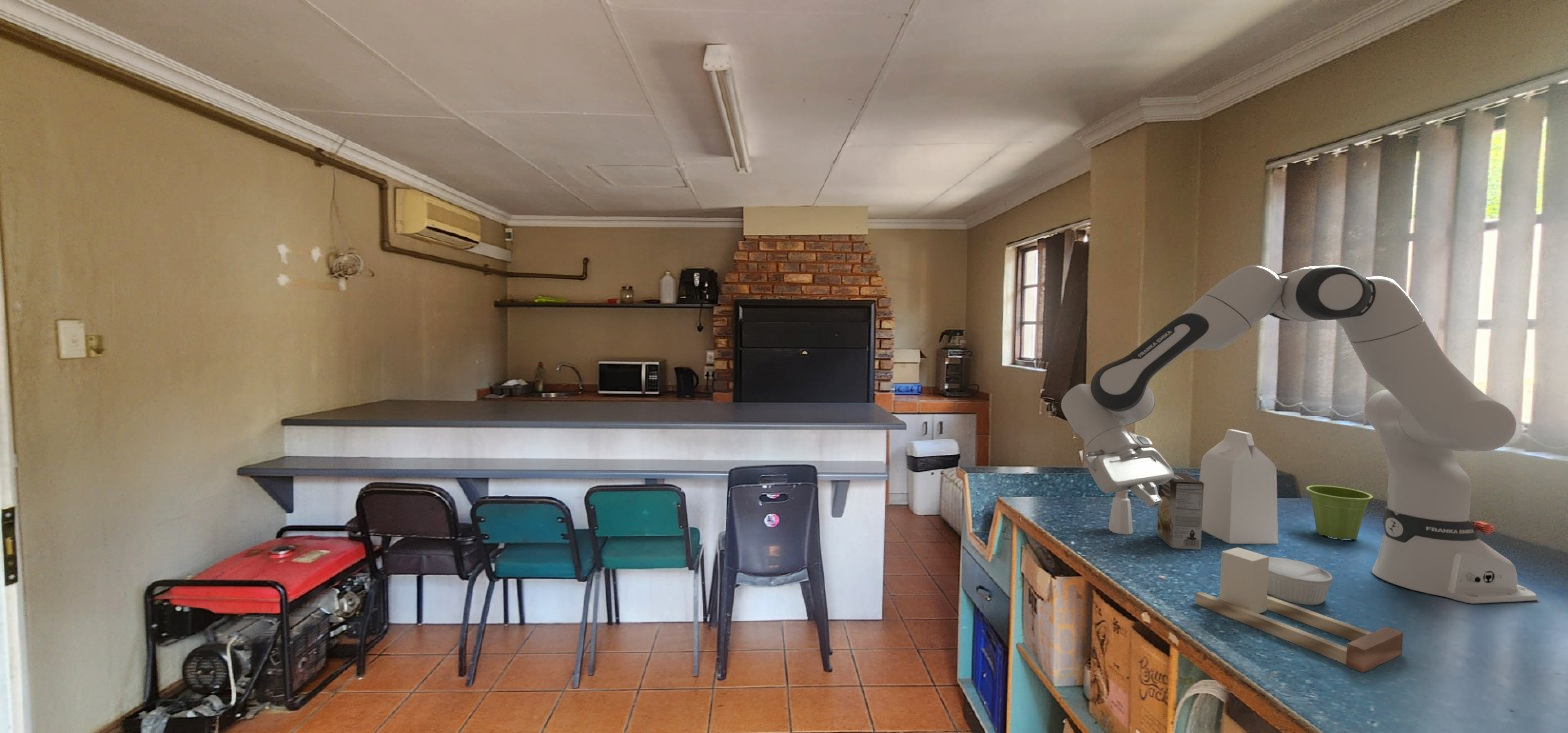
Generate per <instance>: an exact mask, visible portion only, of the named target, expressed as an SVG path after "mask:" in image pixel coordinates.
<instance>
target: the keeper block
mask: <svg viewBox="0 0 1568 733" xmlns="http://www.w3.org/2000/svg"><path fill="white" fill-rule="evenodd" d="M1269 557H1270V556H1268V555H1265V554H1261V553H1259V552H1255V551H1252V550H1248V549H1245V548H1241V547H1238V546H1237V547H1234V548H1230V549H1226V550H1222V551H1221V559H1220V560H1221V561H1220V562H1221V563H1220V564H1221V565H1220V582H1219V583H1220V586H1219V599H1221V600H1224V601H1227V602H1229V603H1232V604H1234V605H1237V606H1240V607H1242V608H1245V609H1247V610H1250V611H1253V612H1255V613H1258V614H1262V613H1264V612H1267V610H1268V609H1267V595H1268V593H1267V590H1268V569H1269Z"/></svg>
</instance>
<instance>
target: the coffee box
mask: <svg viewBox="0 0 1568 733" xmlns="http://www.w3.org/2000/svg"><path fill="white" fill-rule="evenodd" d="M1203 492H1204V483H1203V482H1201V481H1200V479H1198V478H1196V477H1194V476H1193V475H1191V474H1189V473H1187V472H1174V478H1172V479H1171V480H1170V481H1168V482H1167V483H1165V484H1162V485H1158V495H1159V496H1160V498H1161V499H1162V501H1163V502H1162V503H1161V504H1160V505H1157V521H1156V522H1157V523H1156V535H1157V536H1158V538H1160V539H1161V540H1162V541H1164V542H1165V543H1166V545H1168V546H1169V547H1171V548H1172V549H1181V550H1197V551H1198V550H1201V549H1202V548H1201V546H1202V531H1203V530H1202V512H1203Z"/></svg>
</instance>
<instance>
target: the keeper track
mask: <svg viewBox="0 0 1568 733" xmlns="http://www.w3.org/2000/svg"><path fill="white" fill-rule="evenodd" d="M1194 599H1195V600H1194V601H1195V602H1194V604H1195V605H1198V606H1200V607H1203V608H1206V609H1208V610H1210V611H1213V612H1215V613H1218V614H1219V615H1223V616H1225V617H1227V618H1230V619H1233V620H1235V621H1238V622H1240V623H1243V624H1244V625H1247V626H1250V627H1253V628H1255V629H1257V630H1260V631H1262V632H1264V633H1267V634H1269V635H1272V636H1275V637H1278V638H1280V639H1282V640H1285V641H1287V642H1290V643H1293V644H1294V645H1297V646H1300V647H1302V648H1305V649H1307V650H1308V651H1309V650H1310V651H1312V652H1314V653H1318V654H1319V655H1322V656H1325V657H1327V658H1329V659H1332V660H1334V661H1336V660H1337V661H1336V662H1339V663H1342V664H1344V665H1345V666H1346V667H1348V668H1351V669H1353V670H1356V671H1358V672H1360V673H1362V674H1363V673H1366V672H1368V671H1371V670H1372V669H1374V668H1376V666H1377V667H1379V666H1380V664H1381V665H1382V664H1385V663H1387V662H1389V661H1390V660H1393V659H1395V658H1397V657H1400V656H1401V655H1403V640H1404V632H1402V631H1399V630H1396V629H1394V628H1390V627H1388V626H1385V627H1382V628H1380V629H1377V630H1375V631H1373V632H1372V631H1369V630H1366V629H1364V628H1361V627H1358V626H1355V625H1352V624H1350V623H1346V622H1344V621H1340V620H1338V619H1335V618H1332V617H1329V616H1326V615H1324V614H1321V613H1319V612H1316V611H1313V610H1311V609H1307V608H1304V607H1301V606H1298V605H1296V604H1294V603H1291V602H1289V601H1285V600H1282V599H1279V598H1276V597H1273V596H1271V595H1269V594H1267V610H1268V611H1271V612H1273V613H1275V614H1279V615H1282V616H1285V617H1287V618H1290V619H1292V620H1293V621H1294V620H1295V621H1297V622H1301V623H1303V624H1306V625H1308V626H1311V627H1313V628H1317V629H1318V630H1319V629H1320V630H1322V631H1324V632H1327V633H1330V634H1332V635H1335V636H1337V637H1341V638H1343V637H1344V638H1343V639H1345V638H1346V640H1347V641H1348V640H1349V641H1350V642H1347V644H1346V646H1344V645H1341V644H1339V643H1335V642H1334V641H1330V640H1328V639H1326V638H1323V637H1320V636H1317V635H1316V634H1313V633H1309V632H1307V631H1305V630H1302V629H1299V628H1297V627H1294V626H1292V625H1289V624H1286V623H1283V622H1281V621H1279V620H1276V619H1273V618H1271V617H1268V616H1265V615H1263V614H1262V613H1259V614H1258V613H1255V612H1253V611H1250V610H1247V609H1245V608H1242V607H1240V606H1237V605H1234V604H1232V603H1229V602H1227V601H1224V600H1221V599H1220V597H1219V598H1218V597H1216V596H1213V595H1211V594H1208V593H1205V592H1202V591H1198V592H1195V597H1194ZM1378 665H1379V666H1378Z"/></svg>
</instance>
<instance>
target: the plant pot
mask: <svg viewBox="0 0 1568 733" xmlns="http://www.w3.org/2000/svg"><path fill="white" fill-rule="evenodd" d="M1305 489H1306V491H1308V493H1309V498H1310V500H1311V505H1312V510H1313V511H1312V512H1313V516H1314V517H1313V518H1314V523H1315V530H1316V533H1317V532H1318V533H1319V534H1318V533H1317V534H1318V535H1320V534H1321V535H1325V537H1327V536H1329V537H1332V538H1337V539H1356V540H1357V539H1358V535H1359V532H1360V529H1361V526H1362V522H1363V519H1364V515H1365V512H1366V510H1367V507H1368V505H1369V501H1370V500H1371V499H1373V498H1374V496H1373V495H1372V494H1371V493H1368V492H1366V491H1361V490H1358V489H1353V488H1347V487H1342V486H1335V485H1323V484H1322V485H1321V484H1320V485H1319V484H1317V485H1309V486H1308V485H1307V486H1306V488H1305ZM1321 535H1320V536H1321ZM1329 537H1328V538H1329ZM1332 538H1331V539H1332Z"/></svg>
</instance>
